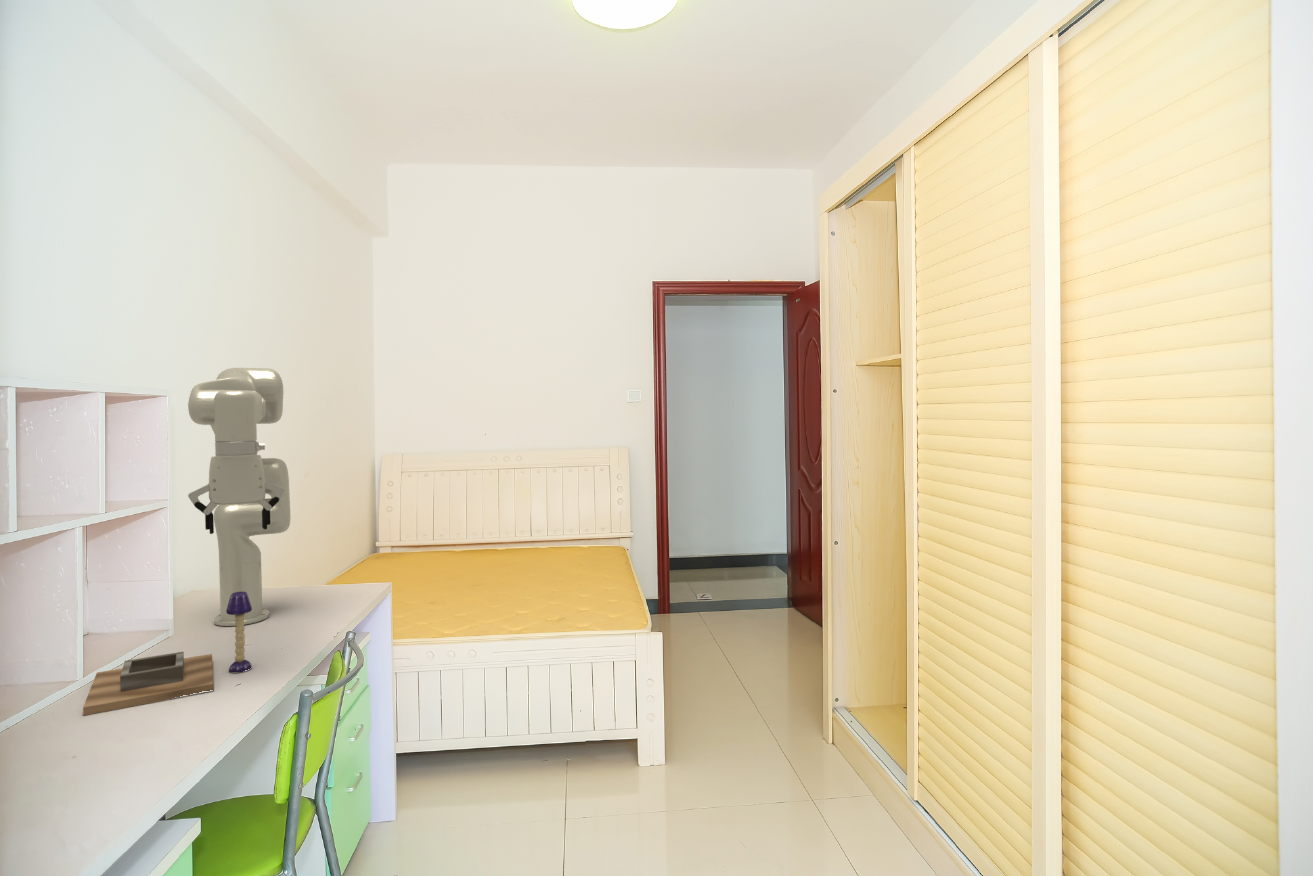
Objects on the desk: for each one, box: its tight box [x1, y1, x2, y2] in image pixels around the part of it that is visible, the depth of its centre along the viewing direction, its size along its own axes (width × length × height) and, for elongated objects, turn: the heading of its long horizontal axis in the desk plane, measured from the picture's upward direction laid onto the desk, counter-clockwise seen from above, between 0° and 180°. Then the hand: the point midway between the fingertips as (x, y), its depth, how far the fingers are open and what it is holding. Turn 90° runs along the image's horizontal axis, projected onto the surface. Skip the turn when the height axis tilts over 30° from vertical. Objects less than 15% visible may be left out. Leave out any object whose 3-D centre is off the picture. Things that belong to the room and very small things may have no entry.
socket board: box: [82, 651, 214, 717], centre depth 141 cm, size 20×20×4 cm
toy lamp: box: [226, 592, 252, 673], centre depth 149 cm, size 5×5×17 cm
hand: (238, 530), depth 147 cm, fingers open, 9 cm apart
